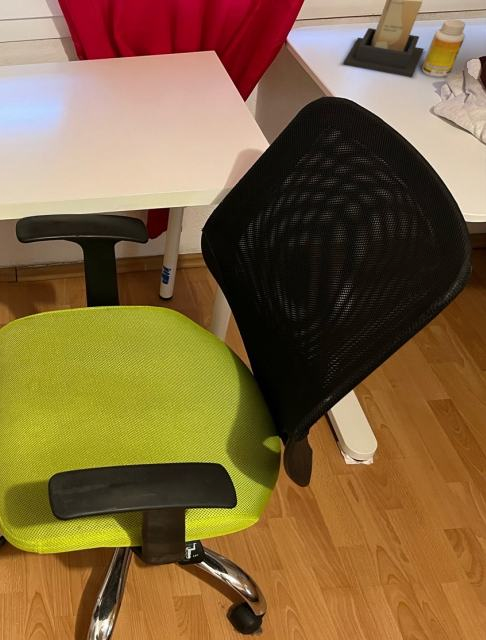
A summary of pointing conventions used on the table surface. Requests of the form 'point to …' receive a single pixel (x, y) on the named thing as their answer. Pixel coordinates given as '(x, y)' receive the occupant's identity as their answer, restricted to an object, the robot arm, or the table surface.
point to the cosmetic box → (396, 24)
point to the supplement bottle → (444, 48)
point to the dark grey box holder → (384, 56)
